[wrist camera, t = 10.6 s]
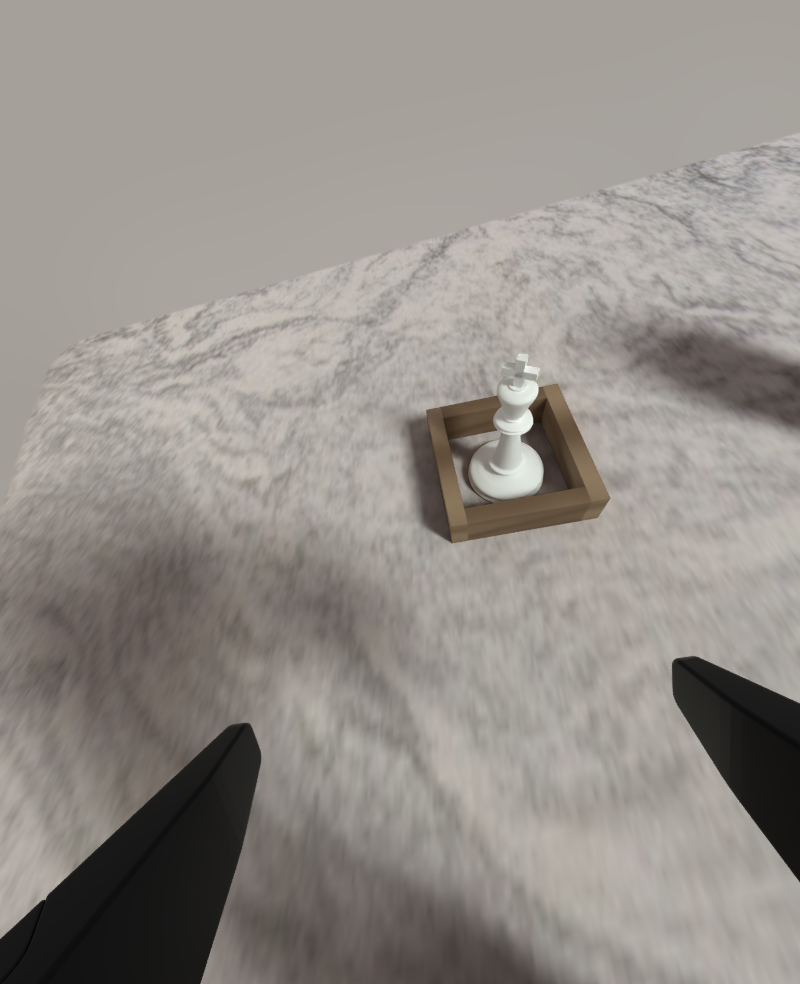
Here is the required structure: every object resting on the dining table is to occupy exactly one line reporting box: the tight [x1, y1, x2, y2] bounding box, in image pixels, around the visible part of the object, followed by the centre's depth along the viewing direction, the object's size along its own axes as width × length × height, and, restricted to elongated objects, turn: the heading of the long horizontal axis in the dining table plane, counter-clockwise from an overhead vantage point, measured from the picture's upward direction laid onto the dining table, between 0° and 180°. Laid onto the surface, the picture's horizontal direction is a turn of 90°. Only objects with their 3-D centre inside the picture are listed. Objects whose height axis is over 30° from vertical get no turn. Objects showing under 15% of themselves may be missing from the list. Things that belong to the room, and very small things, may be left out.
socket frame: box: [426, 384, 610, 543], centre depth 25 cm, size 9×9×2 cm
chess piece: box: [468, 353, 544, 503], centre depth 22 cm, size 5×5×10 cm
